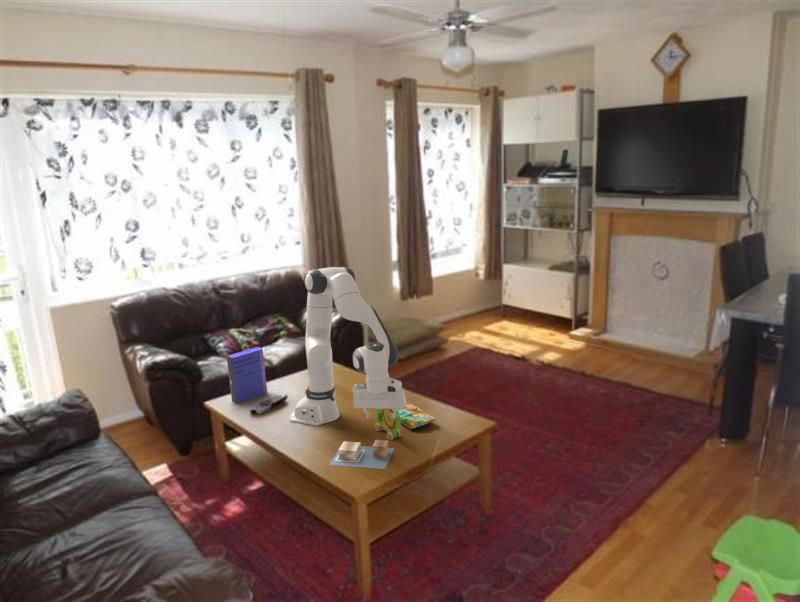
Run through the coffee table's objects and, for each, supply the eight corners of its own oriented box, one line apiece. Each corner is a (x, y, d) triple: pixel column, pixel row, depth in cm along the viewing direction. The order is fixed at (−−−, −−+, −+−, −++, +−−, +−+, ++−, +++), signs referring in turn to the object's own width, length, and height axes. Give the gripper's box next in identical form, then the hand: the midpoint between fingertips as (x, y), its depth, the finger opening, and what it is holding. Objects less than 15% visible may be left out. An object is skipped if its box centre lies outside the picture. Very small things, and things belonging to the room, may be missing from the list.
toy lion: (374, 430, 246) (372, 397, 242) (384, 426, 249) (383, 394, 245) (393, 444, 233) (392, 410, 229) (404, 440, 236) (403, 406, 232)
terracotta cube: (373, 457, 222) (372, 445, 220) (376, 451, 226) (375, 439, 225) (385, 458, 221) (385, 446, 219) (388, 452, 225) (388, 440, 224)
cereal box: (262, 390, 296) (257, 346, 290) (267, 392, 293) (262, 348, 287) (231, 401, 284) (226, 355, 278) (237, 403, 281) (231, 357, 275)
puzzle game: (410, 401, 263) (435, 416, 246) (410, 411, 264) (435, 426, 247) (388, 408, 257) (413, 424, 240) (388, 418, 258) (413, 434, 241)
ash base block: (338, 459, 222) (338, 449, 221) (344, 450, 228) (343, 441, 227) (356, 460, 220) (355, 451, 219) (361, 451, 227) (360, 442, 226)
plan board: (329, 466, 218) (329, 464, 218) (342, 446, 233) (341, 444, 233) (385, 470, 213) (384, 468, 213) (394, 449, 229) (394, 447, 228)
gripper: (349, 387, 216) (352, 421, 219) (402, 388, 212) (404, 422, 215) (354, 381, 222) (357, 413, 225) (405, 381, 218) (408, 415, 221)
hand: (380, 418), depth 220 cm, fingers open, 8 cm apart
